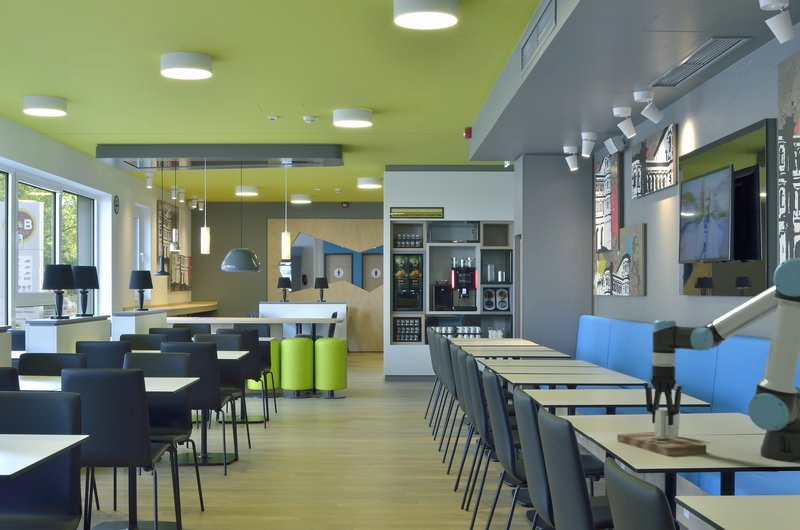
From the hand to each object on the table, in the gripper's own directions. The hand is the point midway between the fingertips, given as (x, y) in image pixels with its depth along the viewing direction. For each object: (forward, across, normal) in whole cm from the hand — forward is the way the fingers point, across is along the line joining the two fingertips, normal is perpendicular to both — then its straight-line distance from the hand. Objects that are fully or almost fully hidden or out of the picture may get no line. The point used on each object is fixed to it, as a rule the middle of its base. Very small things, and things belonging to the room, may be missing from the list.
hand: (662, 433), depth 285 cm
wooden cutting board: (+4, 0, +1) cm, 4 cm away
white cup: (+5, +6, -21) cm, 22 cm away
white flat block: (+1, +1, +3) cm, 3 cm away
